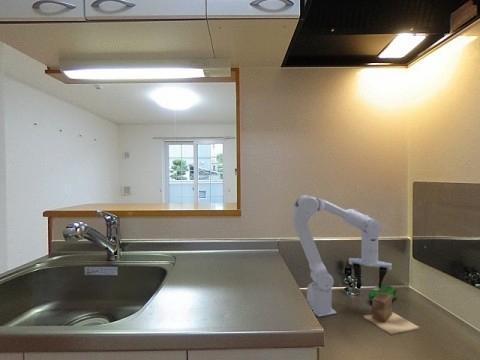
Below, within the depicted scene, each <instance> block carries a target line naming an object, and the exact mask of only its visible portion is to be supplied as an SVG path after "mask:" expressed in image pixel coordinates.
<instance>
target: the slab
mask: <svg viewBox="0 0 480 360" xmlns="http://www.w3.org/2000/svg"><path fill="white" fill-rule="evenodd" d="M371 302H372V309H371V310H372V311H371V312H372V313H371V314H372V319H375V320H378V321H381V322H384V323H385V322H386V321H387V320H388V318H389V317H390V316H391V315H392V312H393V300H392V295H389V294H385V293H382V292H380V293H379V294H378V295H376V296H375V297H374V298H373V299H372V301H371Z"/></svg>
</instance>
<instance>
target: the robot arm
mask: <svg viewBox="0 0 480 360" xmlns="http://www.w3.org/2000/svg"><path fill="white" fill-rule="evenodd" d="M322 211H323V212H324V211H326V212H328V213H330V214H333V215H335V216H338V217H340V218H341V219H342V221H343V223H344V224H347V225H349V226H352V227H353V228H356V229H357V230H360V231H361V258H358V257H357V258H356V257H355V258H354V257H353V258H352V257H349V259H348V264H349V265H352V268H353V271H354V273H355V275H356V278H357V282H358V283H357V284H358V285H361V284H362V274H361V272H362V266H363V267H373V268H378V270H379V271H378V277H379V278H378V279H379V280H378V285H379V288H381V284H383V280H384V278H385V276H386V274H387V272H388V270H389V271H392V268H393V266H392V265H393V264H392V263H391V262H385V261H382V260H381V261H380V260H379V235H380V233H381V232H382V226H381V223H380V222H379V220H378V219H376V218H371V217H369V216H370V215H369V214H363V213H361V212H359V211H358V209H356V208H348V209H344V208H342V207H340V206H338V205H336V204H334V203H331V202H329V201H327V200H325V199H323V198H318V197H315V196H312V195H310V196H309V195H308V194H302V195H300V196H298V197H297V199H296V200H295V202H294V207H293V214H292V219H291V220H292V224H293V227H294V230H295V232H296V234H297V237H298V239H299V242H300V244H301V246H302V249H303V251H304V255H305V256H306V259H307V261H308V266H309V269H310V272H309V275H310V278H311V279H312V282H311V283H309V284H308V286H307V288H306V302H307V301H308V303H309V305H310V306H311V308H312V310H313V312H314V313H313V312H312V313H313V314H315V315H316V316H317V317H324V316H330V315H335V314H337V311H336V310H334V308H332V301H333V299H332V295H333V294H332V288H333V286H334V283H335V281H334V278H333V276H332V275H331V274H330V273H329V271H328V270H327V267H326V266H325V264H324V262H323V261H322V260H323V259H322V258H321V256H320V252H319V251H318V248H317V245H316V242H315V240H314V238H313V234H312V233H311V230H310V227H309V225H308V223H309V220H310V218H311V217H312V216H313V215H314V214H316V212H322Z"/></svg>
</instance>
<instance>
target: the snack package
mask: <svg viewBox="0 0 480 360" xmlns="http://www.w3.org/2000/svg"><path fill="white" fill-rule="evenodd" d="M380 292H382V293H385V294H389V295H392V301H393V300H394V299H395V298H396V296H397V288H396V287H394V286H392V285H389V284H384V283H382V284H381V288H379V284H378V285H376V286H375V287H373V288H372V289H371V290H370V291H369V293H368V298H369V299H370V301H371V302H372V299H373V298H374V297H375V296H376V295H378V294H379V293H380Z"/></svg>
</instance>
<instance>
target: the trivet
mask: <svg viewBox="0 0 480 360" xmlns="http://www.w3.org/2000/svg"><path fill="white" fill-rule="evenodd" d="M363 318H364V319H366V321H367V320H368V322H370V323H372V324H373V325H374V326H377V327H378V328H380V329H382V330H383V331H384V332H386V333H387V334H389V336H394V335H398V334H402V333H406V332H411V331H415V330H419V329H420V326H419V325H416V324H414V322H412V321H409V320H408V319H406V318H404V317H402V316H400V315H398V314H397V313H395V312H394V311H392V315H391V316H390V317H389V318H388V320H387V321H386V322H385V323H384V322H381V321H378V320H375V319H372V313H371V314H366V315H363Z"/></svg>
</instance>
